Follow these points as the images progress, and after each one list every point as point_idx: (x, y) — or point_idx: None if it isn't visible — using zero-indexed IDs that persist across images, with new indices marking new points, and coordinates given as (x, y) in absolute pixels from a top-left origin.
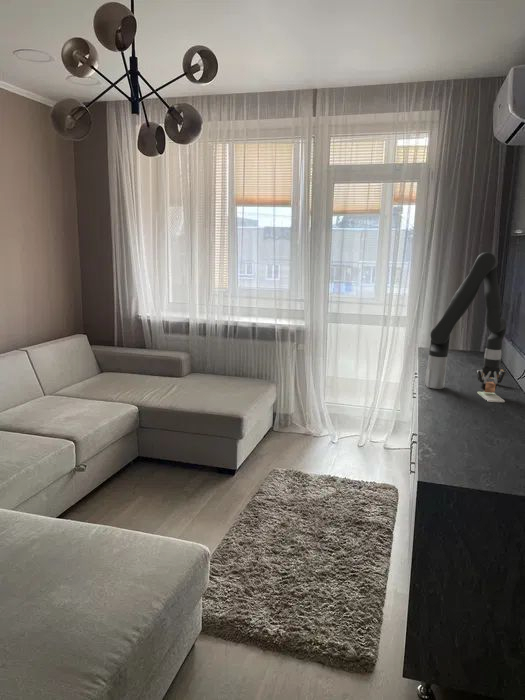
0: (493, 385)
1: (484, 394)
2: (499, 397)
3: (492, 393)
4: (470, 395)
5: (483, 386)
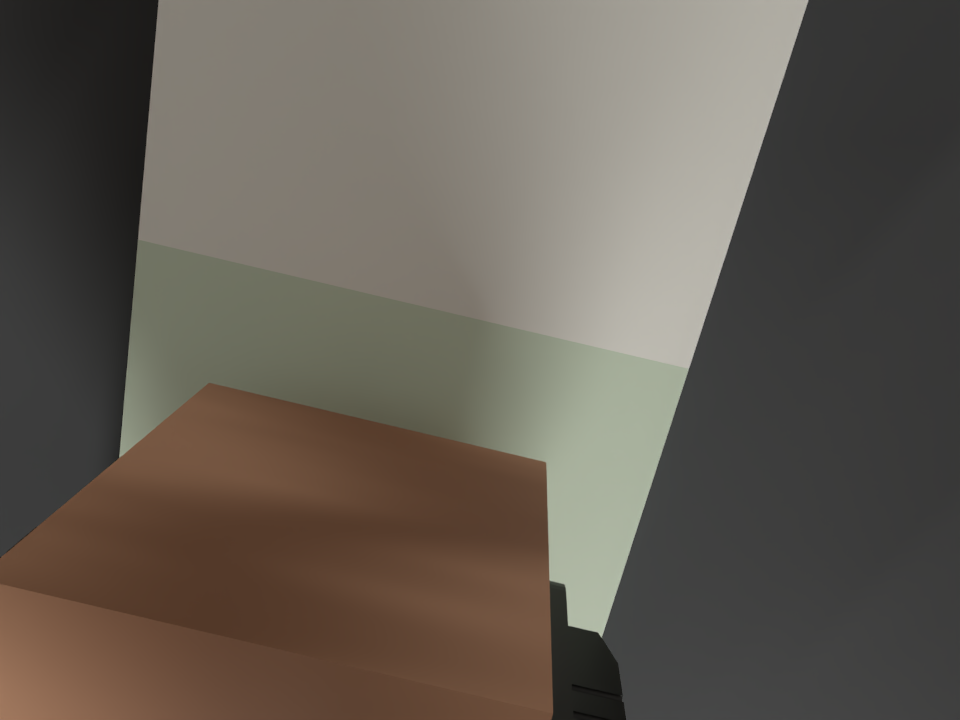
0: (147, 558)
1: None
2: (185, 100)
3: None
4: (938, 563)
5: (579, 716)
